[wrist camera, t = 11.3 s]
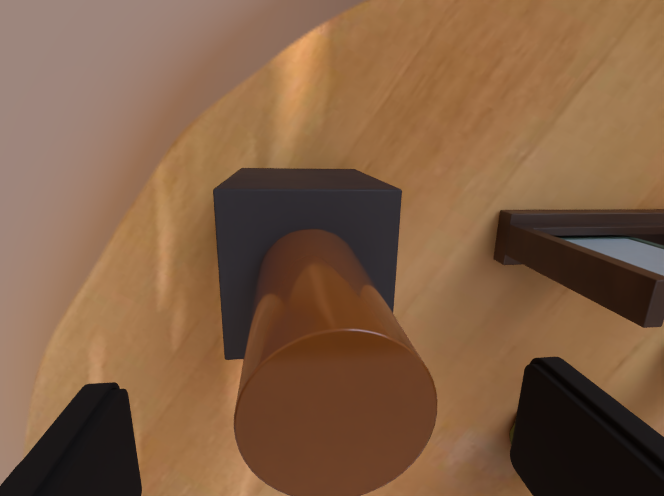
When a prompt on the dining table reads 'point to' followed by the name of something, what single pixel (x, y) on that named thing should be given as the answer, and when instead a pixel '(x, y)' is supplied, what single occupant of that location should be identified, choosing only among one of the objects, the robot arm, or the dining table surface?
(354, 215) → the stand
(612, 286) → the window frame
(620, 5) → the dining table surface
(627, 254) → the pane
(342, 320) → the orange-brown cylinder
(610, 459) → the robot arm
